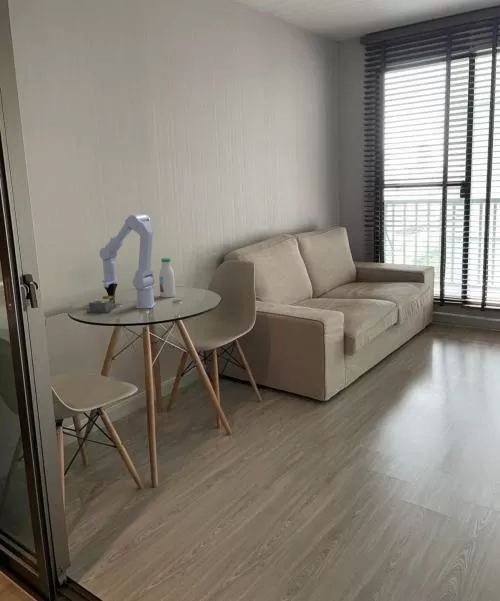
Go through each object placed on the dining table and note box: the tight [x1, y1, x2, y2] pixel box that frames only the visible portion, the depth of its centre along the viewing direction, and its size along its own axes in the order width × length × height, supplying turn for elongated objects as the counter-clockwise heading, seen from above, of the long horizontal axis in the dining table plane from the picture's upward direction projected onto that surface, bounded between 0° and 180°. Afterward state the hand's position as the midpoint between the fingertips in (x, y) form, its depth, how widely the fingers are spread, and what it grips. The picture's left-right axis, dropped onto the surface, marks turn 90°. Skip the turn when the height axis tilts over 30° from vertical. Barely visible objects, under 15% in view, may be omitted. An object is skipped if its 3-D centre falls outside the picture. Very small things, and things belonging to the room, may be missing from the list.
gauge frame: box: [86, 298, 117, 314], centre depth 255 cm, size 12×10×5 cm
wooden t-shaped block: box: [101, 295, 116, 305], centre depth 261 cm, size 10×6×4 cm, turn 176°
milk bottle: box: [158, 257, 176, 298], centre depth 280 cm, size 8×8×20 cm
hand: (111, 298), depth 269 cm, fingers closed
